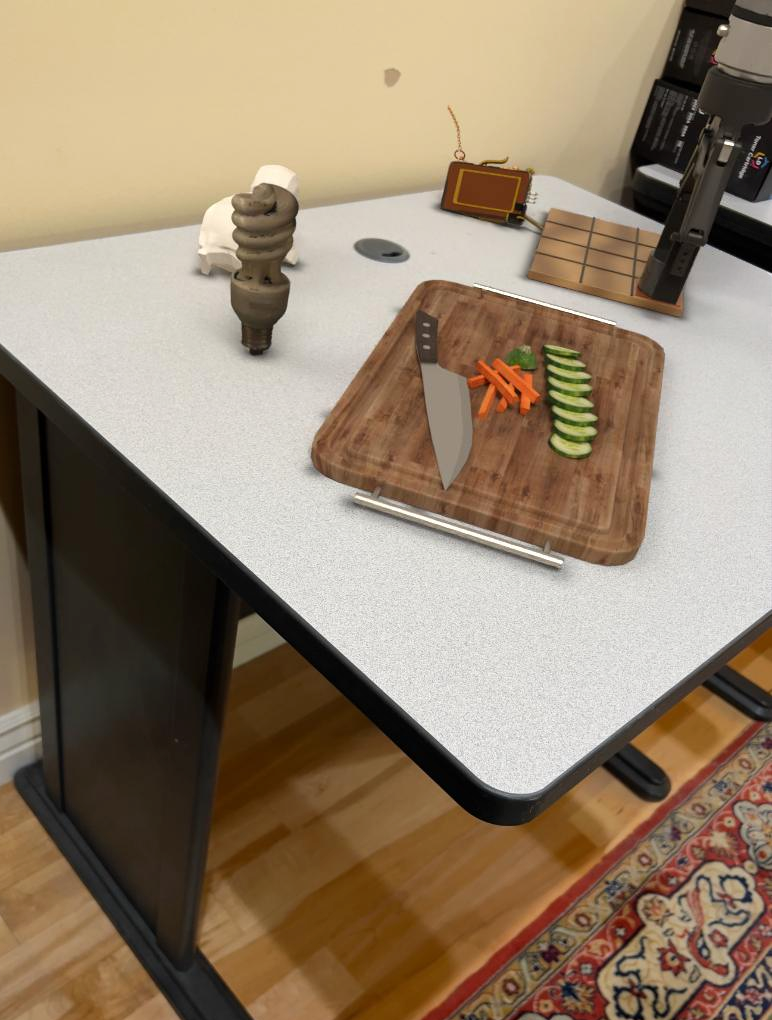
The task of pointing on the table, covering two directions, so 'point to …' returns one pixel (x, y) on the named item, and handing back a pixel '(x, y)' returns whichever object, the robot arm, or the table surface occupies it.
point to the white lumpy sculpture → (219, 226)
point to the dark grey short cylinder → (653, 271)
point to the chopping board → (504, 423)
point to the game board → (597, 259)
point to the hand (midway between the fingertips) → (663, 278)
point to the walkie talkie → (488, 190)
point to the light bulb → (261, 261)
